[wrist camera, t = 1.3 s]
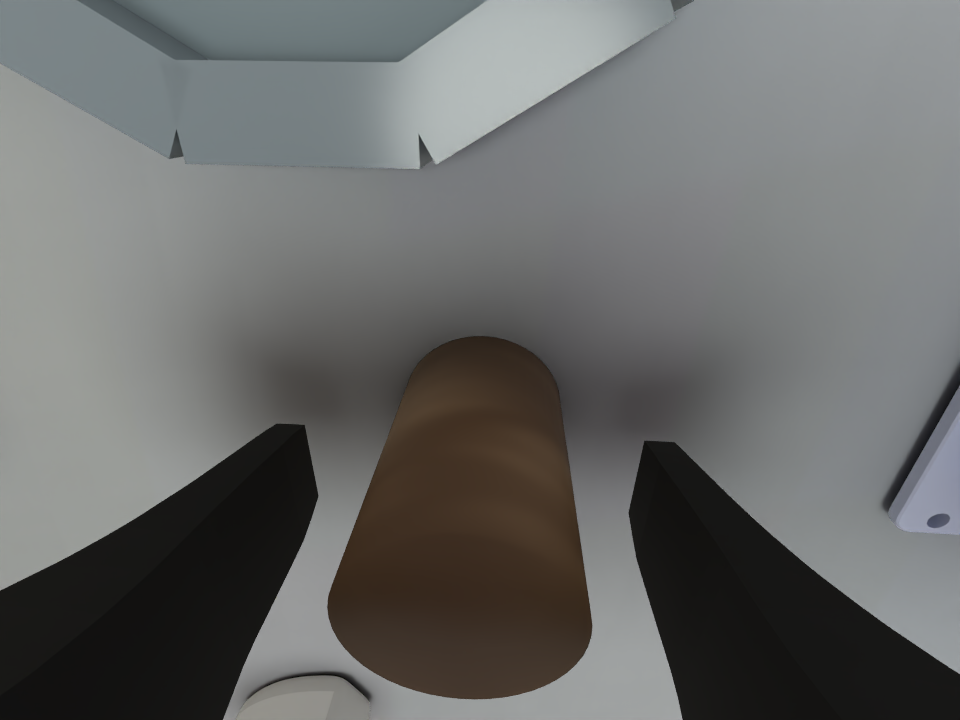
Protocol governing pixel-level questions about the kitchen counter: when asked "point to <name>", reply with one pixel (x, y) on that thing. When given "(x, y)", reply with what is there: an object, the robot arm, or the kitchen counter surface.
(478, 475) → the walnut cylinder
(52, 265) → the kitchen counter surface
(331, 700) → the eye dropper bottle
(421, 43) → the slate dish
